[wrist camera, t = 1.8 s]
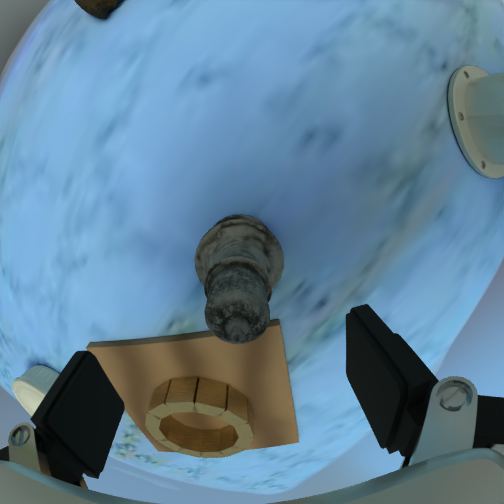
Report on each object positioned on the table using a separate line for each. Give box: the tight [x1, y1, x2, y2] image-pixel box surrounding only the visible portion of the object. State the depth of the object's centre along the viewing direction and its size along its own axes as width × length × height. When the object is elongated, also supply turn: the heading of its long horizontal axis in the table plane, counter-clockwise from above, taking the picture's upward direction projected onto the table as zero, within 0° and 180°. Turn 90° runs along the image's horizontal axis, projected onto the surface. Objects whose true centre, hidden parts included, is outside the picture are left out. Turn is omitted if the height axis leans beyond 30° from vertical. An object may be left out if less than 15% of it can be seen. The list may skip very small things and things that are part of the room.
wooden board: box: [86, 319, 299, 452], centre depth 26 cm, size 20×20×1 cm
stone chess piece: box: [195, 215, 283, 344], centre depth 16 cm, size 6×6×12 cm
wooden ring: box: [145, 376, 254, 458], centre depth 24 cm, size 11×11×4 cm
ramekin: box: [13, 365, 60, 416], centre depth 24 cm, size 11×11×5 cm
